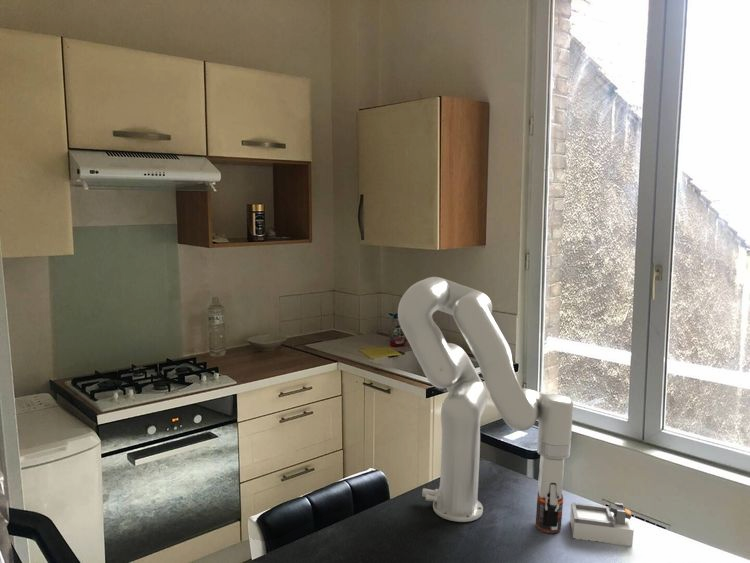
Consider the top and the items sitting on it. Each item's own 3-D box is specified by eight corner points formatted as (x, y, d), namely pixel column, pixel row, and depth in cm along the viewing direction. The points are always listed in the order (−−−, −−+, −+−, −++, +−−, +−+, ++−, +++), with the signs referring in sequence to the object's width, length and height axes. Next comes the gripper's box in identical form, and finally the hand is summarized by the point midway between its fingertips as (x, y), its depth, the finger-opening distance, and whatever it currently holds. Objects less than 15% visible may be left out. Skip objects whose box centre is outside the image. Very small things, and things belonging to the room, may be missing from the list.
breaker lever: (609, 511, 144) (611, 506, 144) (608, 506, 146) (610, 502, 146) (629, 519, 143) (632, 514, 143) (628, 514, 146) (630, 510, 145)
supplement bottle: (562, 536, 145) (565, 490, 143) (536, 532, 146) (539, 487, 145) (559, 523, 151) (562, 479, 149) (534, 520, 152) (537, 476, 150)
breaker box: (573, 538, 144) (575, 509, 143) (570, 521, 152) (572, 493, 151) (632, 546, 141) (634, 517, 140) (625, 528, 149) (628, 500, 148)
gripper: (535, 432, 155) (531, 499, 157) (539, 460, 138) (534, 535, 140) (566, 435, 153) (562, 503, 156) (573, 464, 136) (568, 539, 139)
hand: (548, 517), depth 148 cm, fingers closed on supplement bottle, 6 cm apart
